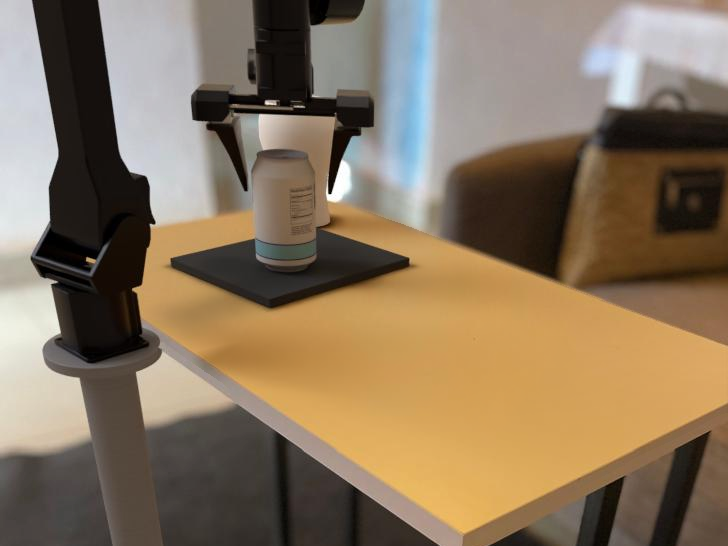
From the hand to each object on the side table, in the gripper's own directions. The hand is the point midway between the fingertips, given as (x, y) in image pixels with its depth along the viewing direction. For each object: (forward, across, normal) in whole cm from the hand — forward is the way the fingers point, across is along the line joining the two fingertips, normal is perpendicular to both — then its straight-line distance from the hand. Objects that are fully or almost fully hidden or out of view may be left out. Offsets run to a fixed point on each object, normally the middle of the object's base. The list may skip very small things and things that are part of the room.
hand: (288, 192), depth 93 cm
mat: (+9, 0, -3) cm, 9 cm away
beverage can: (+8, 0, 0) cm, 8 cm away
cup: (+9, 0, -22) cm, 24 cm away
